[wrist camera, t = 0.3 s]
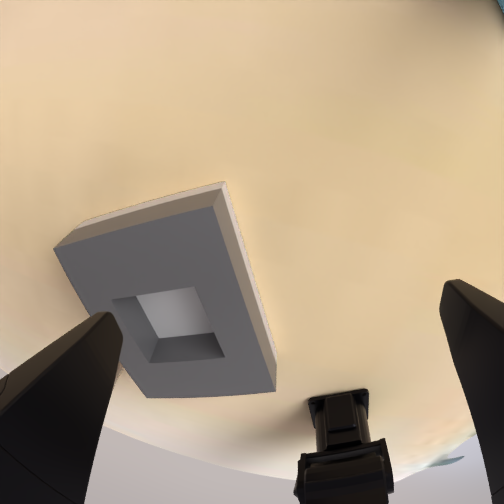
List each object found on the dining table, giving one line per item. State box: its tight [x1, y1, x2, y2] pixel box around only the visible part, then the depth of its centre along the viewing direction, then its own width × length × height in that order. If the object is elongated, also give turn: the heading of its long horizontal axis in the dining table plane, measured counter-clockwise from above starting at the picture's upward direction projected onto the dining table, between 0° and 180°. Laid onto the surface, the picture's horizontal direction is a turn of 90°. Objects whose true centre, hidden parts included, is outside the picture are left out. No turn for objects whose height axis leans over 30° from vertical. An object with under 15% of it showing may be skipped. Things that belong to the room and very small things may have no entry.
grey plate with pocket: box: [53, 181, 277, 398], centre depth 24 cm, size 16×12×4 cm
